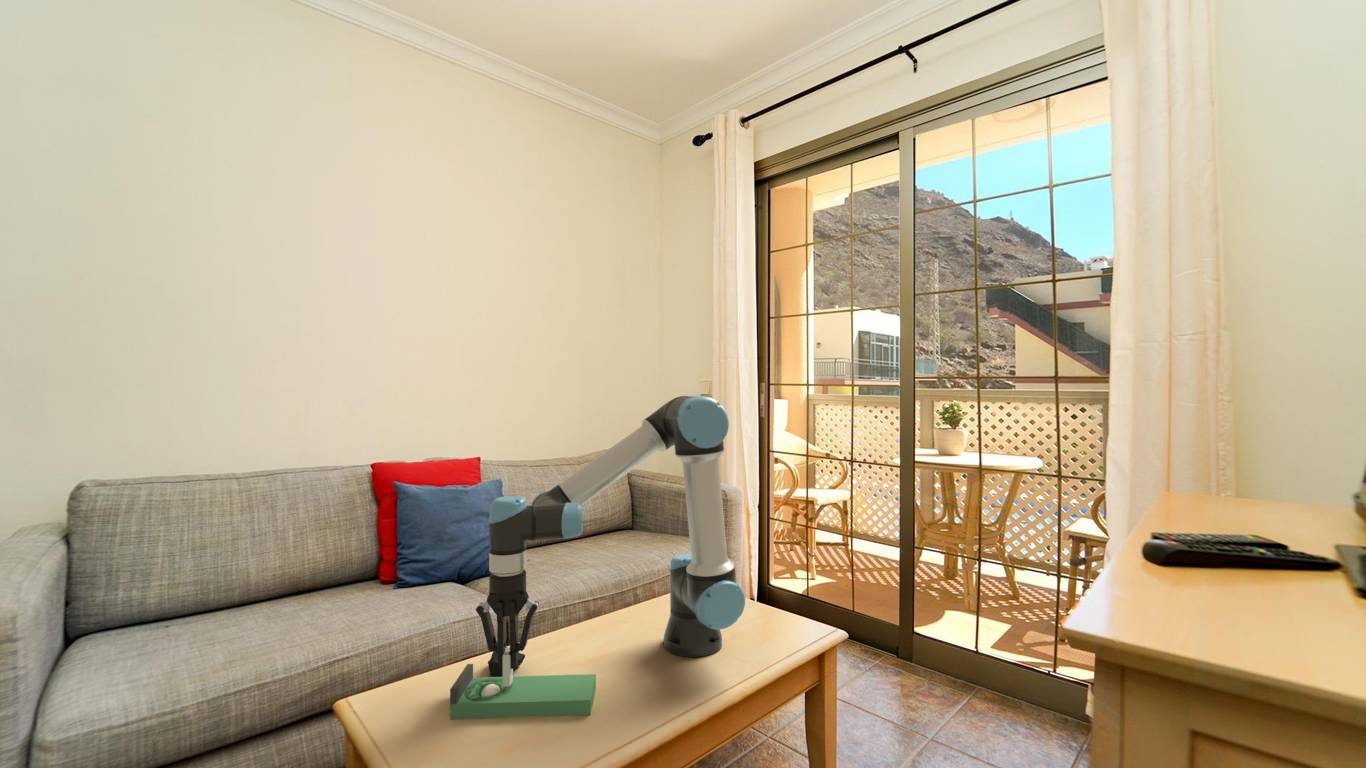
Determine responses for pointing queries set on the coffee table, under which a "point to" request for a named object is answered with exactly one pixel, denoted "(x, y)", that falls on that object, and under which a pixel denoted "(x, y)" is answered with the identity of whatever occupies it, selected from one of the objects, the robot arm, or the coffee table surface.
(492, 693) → the ball
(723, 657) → the coffee table surface
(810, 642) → the coffee table surface
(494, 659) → the mineral
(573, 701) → the green
